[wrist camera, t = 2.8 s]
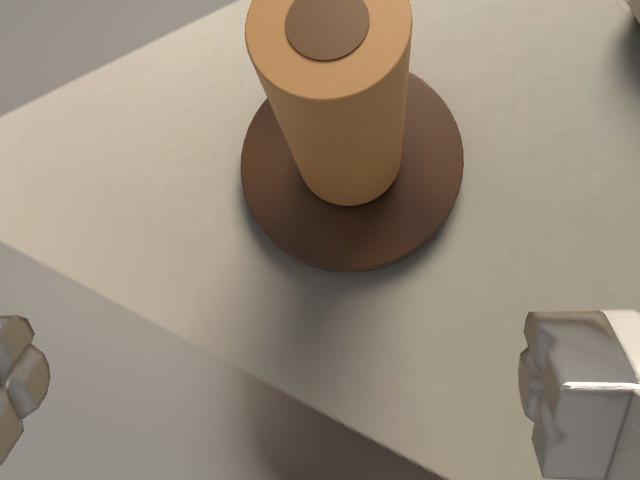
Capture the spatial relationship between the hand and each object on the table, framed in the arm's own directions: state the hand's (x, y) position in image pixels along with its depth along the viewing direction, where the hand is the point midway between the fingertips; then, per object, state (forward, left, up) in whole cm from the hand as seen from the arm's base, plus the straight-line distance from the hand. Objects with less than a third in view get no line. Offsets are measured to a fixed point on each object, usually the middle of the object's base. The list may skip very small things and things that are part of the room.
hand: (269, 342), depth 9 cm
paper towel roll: (+10, +7, -24) cm, 27 cm away
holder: (+10, +7, -25) cm, 28 cm away
